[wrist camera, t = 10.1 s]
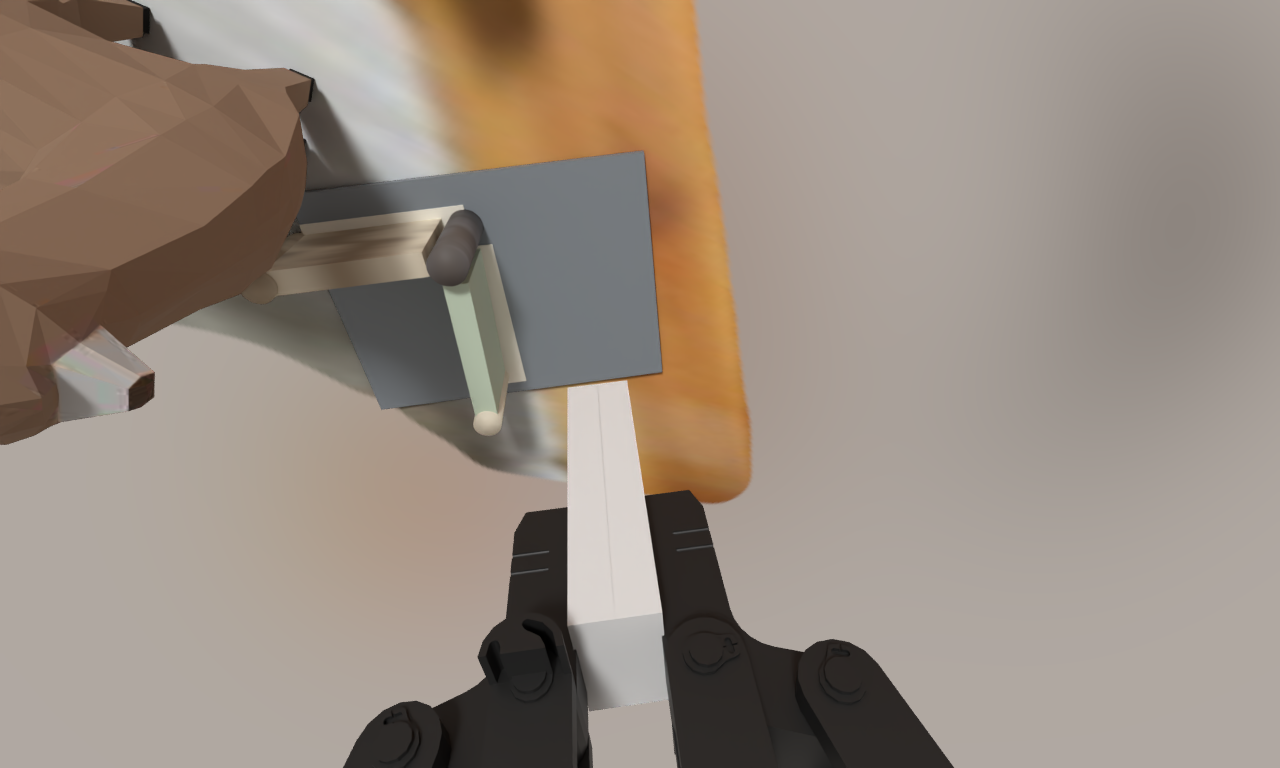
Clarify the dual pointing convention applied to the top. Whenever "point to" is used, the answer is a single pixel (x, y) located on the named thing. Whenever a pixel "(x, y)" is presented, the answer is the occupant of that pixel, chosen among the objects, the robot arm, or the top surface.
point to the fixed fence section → (372, 257)
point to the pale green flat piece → (479, 347)
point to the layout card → (509, 276)
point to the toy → (125, 200)
